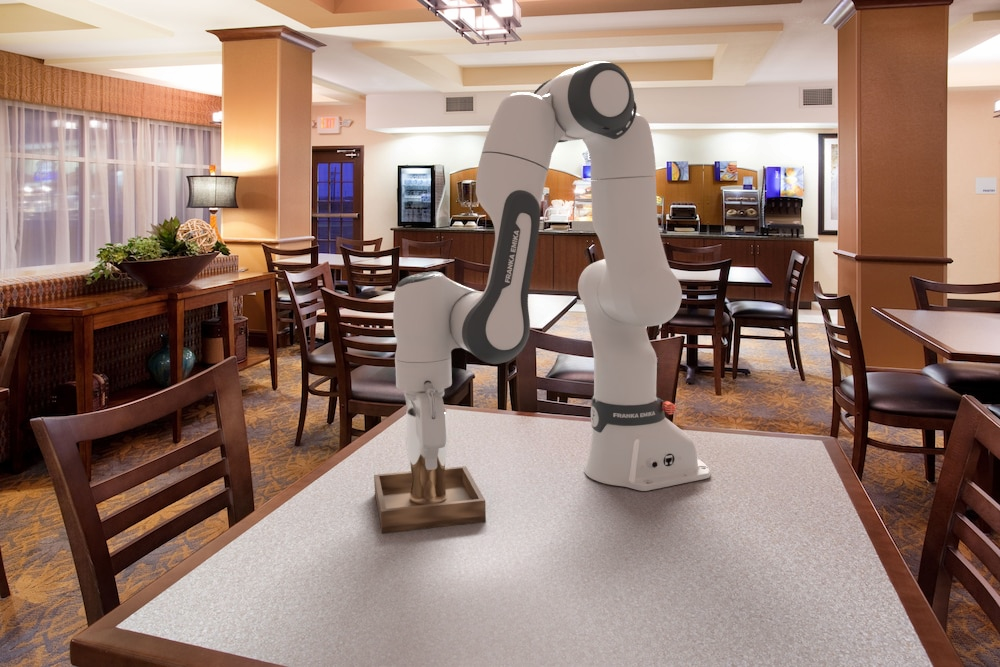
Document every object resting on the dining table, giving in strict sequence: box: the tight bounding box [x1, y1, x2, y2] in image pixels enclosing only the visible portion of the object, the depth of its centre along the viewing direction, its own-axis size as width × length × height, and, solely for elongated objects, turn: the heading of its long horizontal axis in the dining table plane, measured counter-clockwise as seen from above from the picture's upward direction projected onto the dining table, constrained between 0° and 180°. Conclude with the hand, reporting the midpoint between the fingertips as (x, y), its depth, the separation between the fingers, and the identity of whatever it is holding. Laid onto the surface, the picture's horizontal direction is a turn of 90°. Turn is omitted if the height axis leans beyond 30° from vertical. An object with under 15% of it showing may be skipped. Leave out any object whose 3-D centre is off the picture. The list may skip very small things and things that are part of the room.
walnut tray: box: [373, 465, 487, 534], centre depth 118 cm, size 16×16×4 cm
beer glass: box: [404, 407, 450, 505], centre depth 118 cm, size 7×7×15 cm
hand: (426, 458), depth 117 cm, fingers open, 8 cm apart
